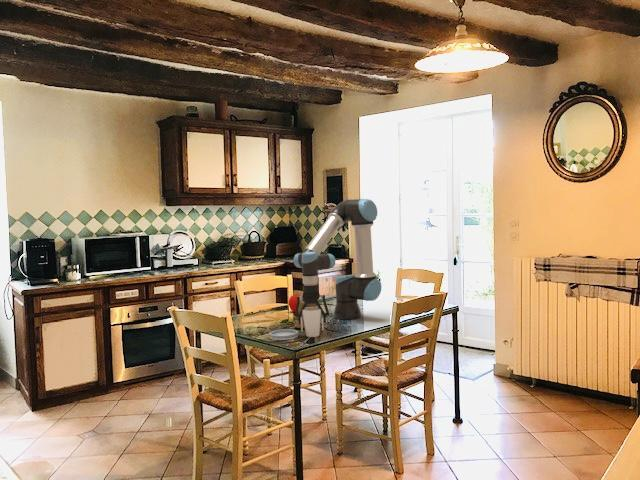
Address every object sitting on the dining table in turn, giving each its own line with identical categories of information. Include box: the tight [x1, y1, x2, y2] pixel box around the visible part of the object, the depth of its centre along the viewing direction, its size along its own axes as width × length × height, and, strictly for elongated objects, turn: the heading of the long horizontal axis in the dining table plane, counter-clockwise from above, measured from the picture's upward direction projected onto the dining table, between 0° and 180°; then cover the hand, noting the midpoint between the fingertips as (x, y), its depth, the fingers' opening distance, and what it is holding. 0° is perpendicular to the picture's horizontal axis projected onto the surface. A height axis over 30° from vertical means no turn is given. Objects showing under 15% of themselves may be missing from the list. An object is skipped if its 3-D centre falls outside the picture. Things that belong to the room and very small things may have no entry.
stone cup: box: [293, 298, 318, 329], centre depth 294 cm, size 15×12×15 cm
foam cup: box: [302, 306, 322, 338], centre depth 274 cm, size 10×9×13 cm
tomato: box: [288, 293, 303, 313], centre depth 334 cm, size 10×11×11 cm
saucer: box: [268, 328, 299, 341], centre depth 275 cm, size 14×14×2 cm
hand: (312, 330), depth 275 cm, fingers closed on foam cup, 9 cm apart
